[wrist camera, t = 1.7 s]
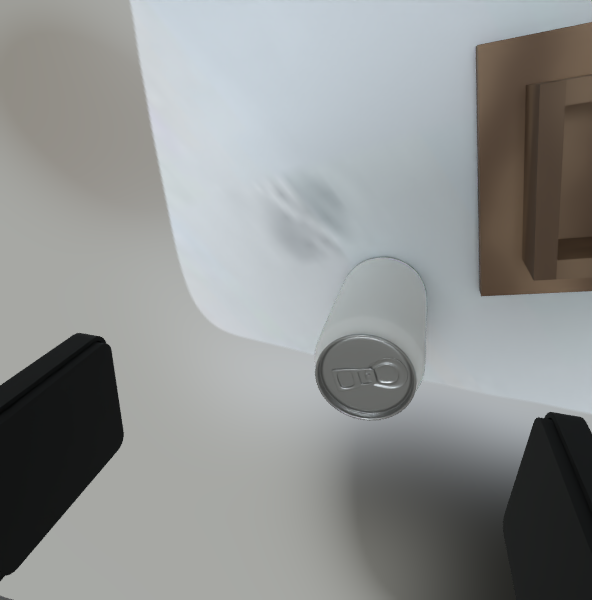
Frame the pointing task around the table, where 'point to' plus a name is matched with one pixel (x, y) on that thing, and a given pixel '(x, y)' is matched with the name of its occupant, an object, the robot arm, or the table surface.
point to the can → (374, 341)
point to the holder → (535, 162)
